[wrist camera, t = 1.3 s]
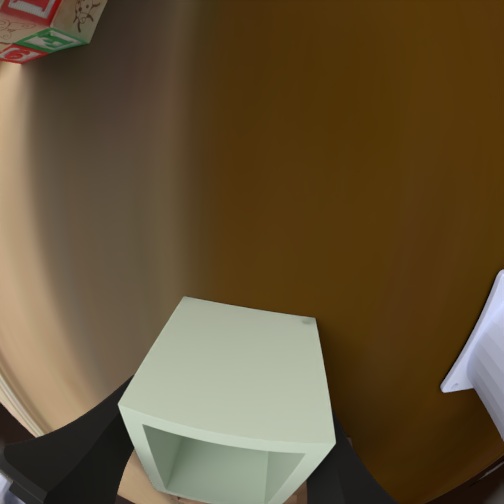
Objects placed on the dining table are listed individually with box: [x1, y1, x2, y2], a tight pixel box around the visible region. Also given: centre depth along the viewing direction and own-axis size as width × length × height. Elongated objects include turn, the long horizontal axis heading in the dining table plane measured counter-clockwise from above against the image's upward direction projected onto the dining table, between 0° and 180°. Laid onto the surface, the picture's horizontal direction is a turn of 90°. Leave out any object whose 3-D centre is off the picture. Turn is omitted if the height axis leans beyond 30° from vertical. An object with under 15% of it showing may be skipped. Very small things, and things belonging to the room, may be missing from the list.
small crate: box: [118, 296, 336, 504], centre depth 9 cm, size 6×8×6 cm
